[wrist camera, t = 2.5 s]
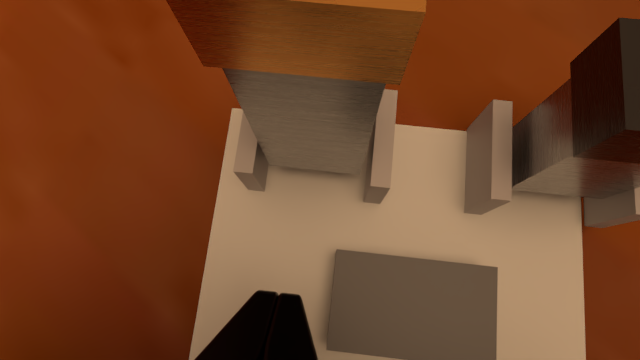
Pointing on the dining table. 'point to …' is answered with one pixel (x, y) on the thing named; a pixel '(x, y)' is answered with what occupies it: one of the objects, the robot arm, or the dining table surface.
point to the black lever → (586, 124)
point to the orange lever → (306, 69)
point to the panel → (406, 246)
